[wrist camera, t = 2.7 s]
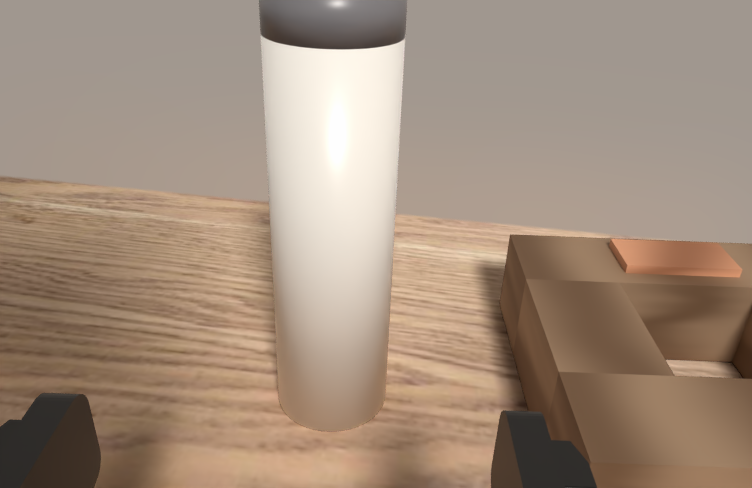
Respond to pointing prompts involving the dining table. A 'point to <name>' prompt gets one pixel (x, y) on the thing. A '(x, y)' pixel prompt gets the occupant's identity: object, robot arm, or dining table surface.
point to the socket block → (636, 354)
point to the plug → (332, 199)
